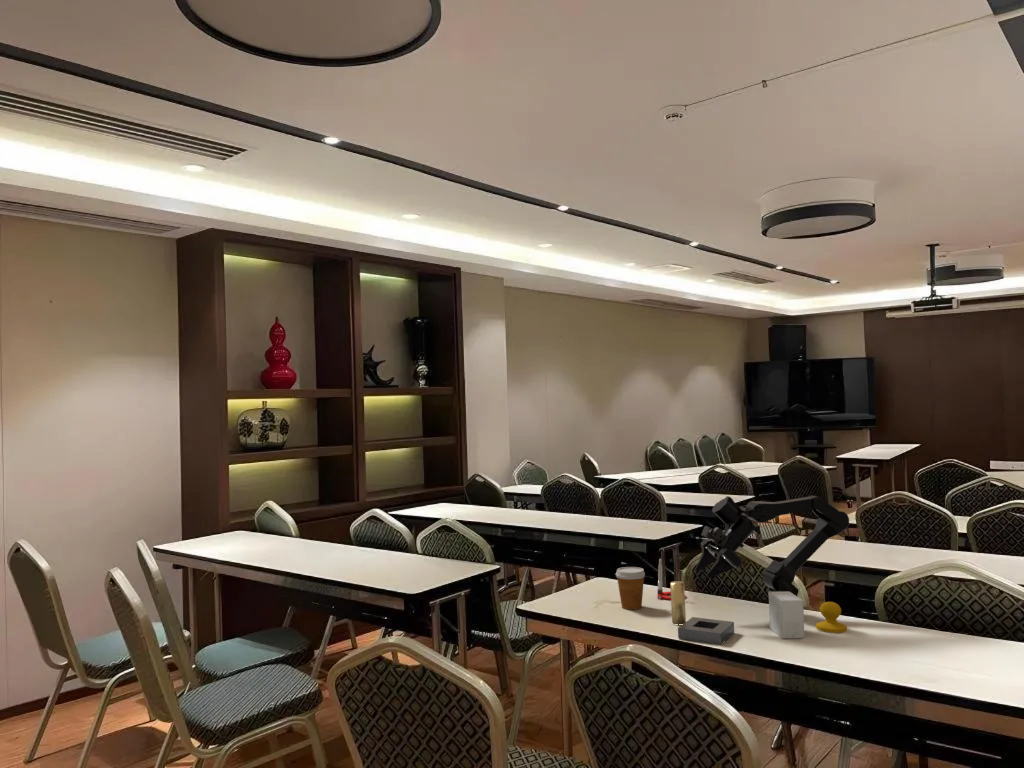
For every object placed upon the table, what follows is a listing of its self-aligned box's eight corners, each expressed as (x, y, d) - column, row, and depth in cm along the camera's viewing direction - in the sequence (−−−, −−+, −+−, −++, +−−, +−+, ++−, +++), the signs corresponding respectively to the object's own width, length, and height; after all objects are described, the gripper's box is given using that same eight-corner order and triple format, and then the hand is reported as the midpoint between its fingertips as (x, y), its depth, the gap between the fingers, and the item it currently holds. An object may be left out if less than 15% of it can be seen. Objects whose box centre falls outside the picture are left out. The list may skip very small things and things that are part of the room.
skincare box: (806, 638, 206) (804, 599, 207) (782, 639, 206) (780, 600, 207) (791, 627, 217) (789, 590, 217) (769, 628, 217) (767, 591, 217)
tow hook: (686, 596, 258) (658, 594, 260) (686, 557, 258) (658, 556, 260) (685, 602, 250) (656, 600, 252) (685, 563, 250) (657, 561, 252)
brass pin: (687, 622, 225) (686, 581, 225) (683, 626, 222) (681, 584, 222) (675, 621, 227) (673, 580, 228) (670, 624, 224) (668, 583, 224)
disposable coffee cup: (611, 606, 247) (609, 569, 247) (635, 601, 251) (634, 565, 251) (627, 612, 238) (625, 574, 239) (652, 608, 242) (651, 570, 243)
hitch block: (734, 632, 214) (733, 621, 214) (721, 644, 203) (720, 633, 204) (693, 627, 220) (692, 616, 220) (678, 638, 210) (677, 627, 210)
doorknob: (819, 623, 219) (849, 627, 215) (813, 631, 213) (844, 634, 208) (818, 597, 220) (847, 600, 215) (812, 604, 213) (842, 607, 208)
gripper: (706, 512, 237) (672, 549, 235) (730, 521, 219) (694, 561, 217) (730, 537, 238) (697, 574, 236) (757, 547, 219) (721, 587, 218)
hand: (702, 573), depth 227 cm, fingers open, 9 cm apart
